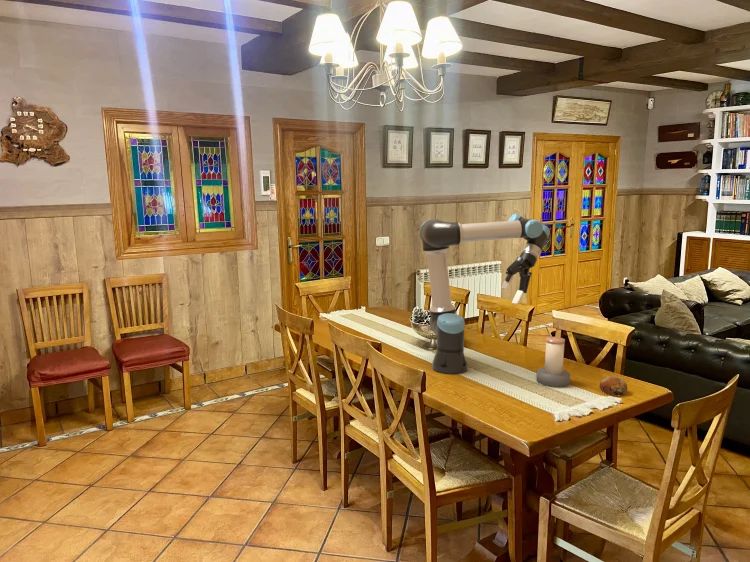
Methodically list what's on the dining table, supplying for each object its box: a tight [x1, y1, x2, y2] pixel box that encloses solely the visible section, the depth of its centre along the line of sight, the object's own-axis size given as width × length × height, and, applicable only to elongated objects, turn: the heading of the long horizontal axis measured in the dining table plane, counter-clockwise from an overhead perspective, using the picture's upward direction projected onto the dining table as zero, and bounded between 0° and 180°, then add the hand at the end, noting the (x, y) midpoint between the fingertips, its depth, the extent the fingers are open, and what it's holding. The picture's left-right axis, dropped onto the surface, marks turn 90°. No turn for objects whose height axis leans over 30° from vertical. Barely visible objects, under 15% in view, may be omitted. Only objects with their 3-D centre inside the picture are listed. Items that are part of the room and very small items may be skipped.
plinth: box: [536, 367, 571, 388], centre depth 225 cm, size 13×13×4 cm
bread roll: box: [599, 375, 628, 396], centre depth 215 cm, size 10×10×8 cm
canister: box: [544, 336, 566, 375], centre depth 224 cm, size 7×7×14 cm
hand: (509, 296), depth 242 cm, fingers open, 13 cm apart
